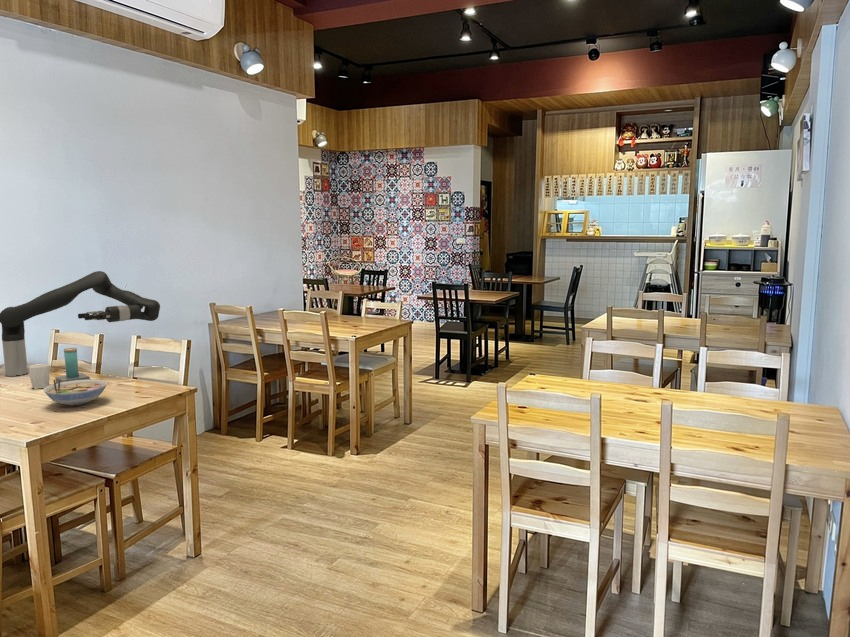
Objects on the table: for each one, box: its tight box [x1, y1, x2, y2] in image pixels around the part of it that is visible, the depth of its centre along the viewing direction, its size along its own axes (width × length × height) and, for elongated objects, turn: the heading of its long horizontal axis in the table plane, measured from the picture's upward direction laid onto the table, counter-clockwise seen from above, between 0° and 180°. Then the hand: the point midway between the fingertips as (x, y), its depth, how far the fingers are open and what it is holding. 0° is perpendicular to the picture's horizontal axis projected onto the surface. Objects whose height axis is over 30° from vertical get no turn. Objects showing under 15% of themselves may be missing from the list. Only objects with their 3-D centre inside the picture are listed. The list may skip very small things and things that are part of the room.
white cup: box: [28, 363, 51, 390], centre depth 278 cm, size 8×8×10 cm
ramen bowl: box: [42, 379, 108, 407], centre depth 252 cm, size 25×23×8 cm
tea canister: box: [63, 347, 80, 378], centre depth 284 cm, size 5×5×13 cm
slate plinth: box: [54, 372, 91, 384], centre depth 285 cm, size 11×11×4 cm
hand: (81, 317), depth 288 cm, fingers open, 8 cm apart
